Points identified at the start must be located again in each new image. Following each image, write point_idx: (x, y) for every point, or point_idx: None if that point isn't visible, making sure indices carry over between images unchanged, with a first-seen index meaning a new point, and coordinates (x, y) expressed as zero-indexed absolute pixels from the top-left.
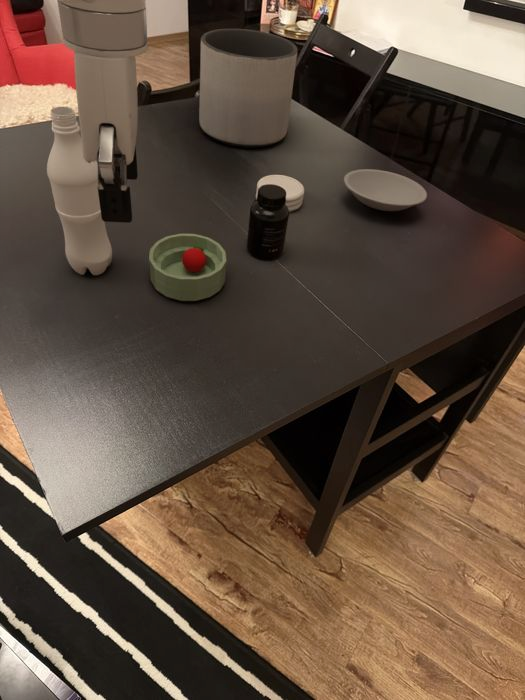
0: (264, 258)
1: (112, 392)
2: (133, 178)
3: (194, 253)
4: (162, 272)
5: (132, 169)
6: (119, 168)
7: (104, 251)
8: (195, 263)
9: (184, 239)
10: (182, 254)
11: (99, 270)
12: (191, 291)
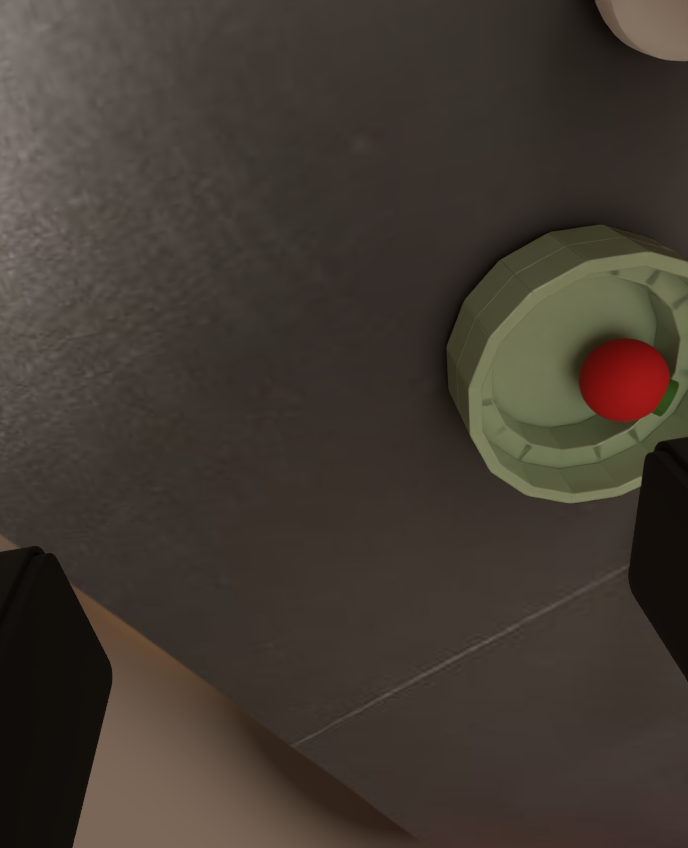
0: None
1: (25, 216)
2: (630, 578)
3: (625, 401)
4: (502, 325)
5: (668, 630)
6: (682, 559)
7: (671, 39)
8: (590, 395)
9: None
10: (670, 329)
11: (601, 14)
12: (456, 396)
